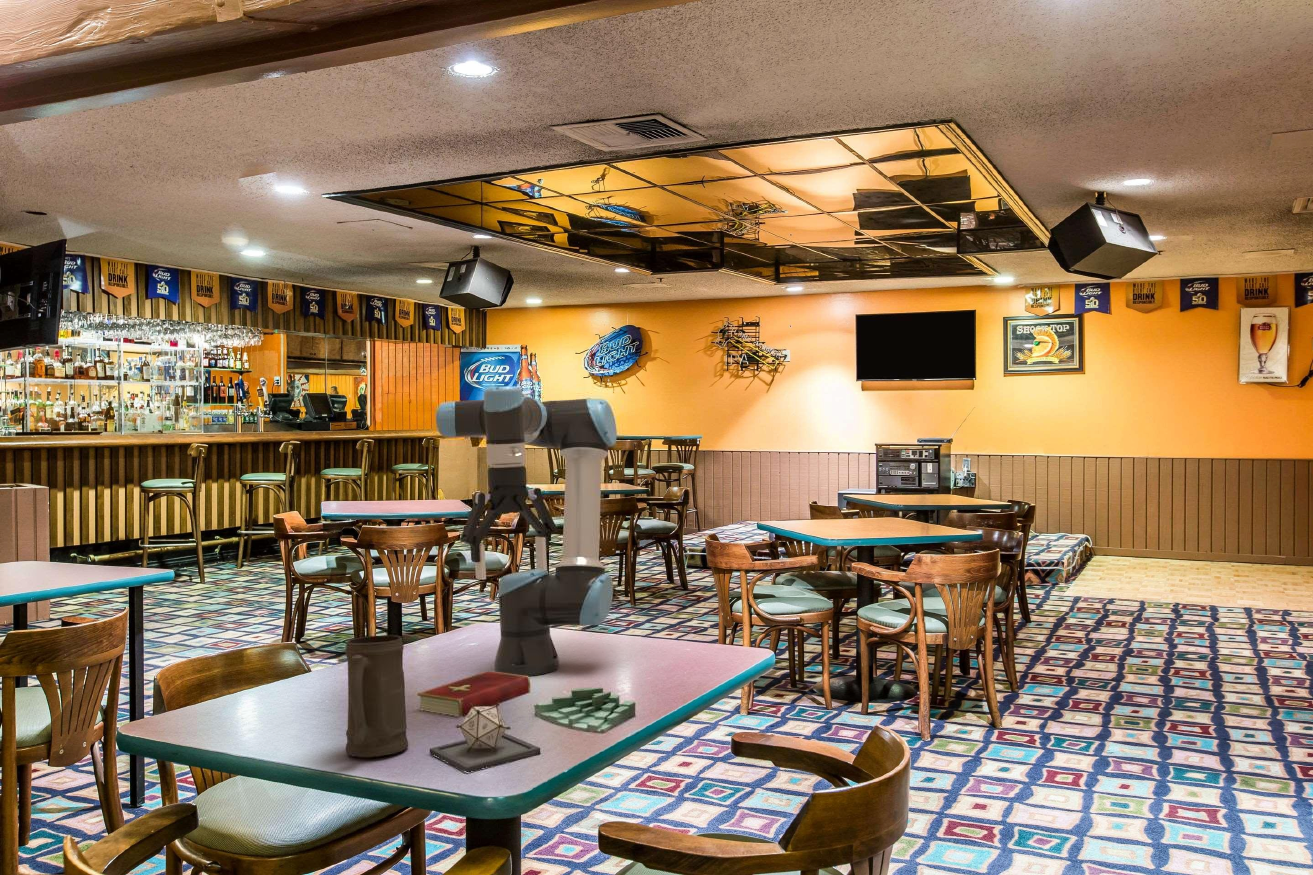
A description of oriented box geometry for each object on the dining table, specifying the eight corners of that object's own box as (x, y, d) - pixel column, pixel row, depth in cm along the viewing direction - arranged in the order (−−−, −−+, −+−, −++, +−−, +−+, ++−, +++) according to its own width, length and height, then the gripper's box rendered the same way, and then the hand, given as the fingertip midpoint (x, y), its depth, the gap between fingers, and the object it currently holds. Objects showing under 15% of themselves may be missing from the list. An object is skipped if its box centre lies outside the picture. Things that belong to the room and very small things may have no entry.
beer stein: (353, 743, 182) (349, 634, 182) (413, 739, 183) (408, 630, 183) (333, 771, 167) (328, 652, 167) (399, 766, 168) (393, 648, 168)
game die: (494, 768, 175) (525, 717, 177) (481, 766, 167) (514, 713, 169) (453, 740, 177) (485, 691, 179) (438, 737, 169) (472, 685, 172)
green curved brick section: (646, 712, 196) (645, 687, 196) (603, 735, 182) (602, 709, 182) (562, 703, 206) (561, 679, 206) (514, 724, 191) (513, 699, 191)
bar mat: (429, 754, 174) (429, 748, 174) (500, 736, 183) (500, 730, 183) (467, 773, 163) (466, 767, 163) (540, 753, 172) (540, 747, 172)
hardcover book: (530, 694, 214) (529, 674, 214) (460, 720, 197) (459, 698, 197) (489, 688, 221) (488, 669, 221) (418, 712, 203) (417, 691, 203)
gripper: (457, 470, 184) (463, 584, 184) (570, 461, 199) (575, 567, 200) (439, 469, 190) (444, 580, 190) (550, 461, 205) (555, 564, 205)
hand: (512, 574), depth 195 cm, fingers open, 13 cm apart
